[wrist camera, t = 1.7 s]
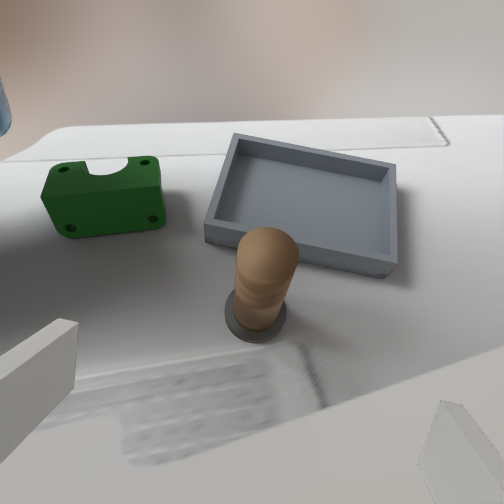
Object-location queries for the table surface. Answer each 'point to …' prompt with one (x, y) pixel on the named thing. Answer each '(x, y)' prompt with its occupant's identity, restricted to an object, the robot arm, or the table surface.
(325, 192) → the tray
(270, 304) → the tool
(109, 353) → the table surface
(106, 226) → the clamp
